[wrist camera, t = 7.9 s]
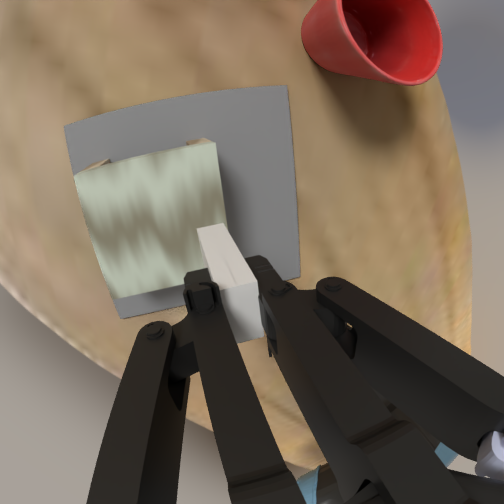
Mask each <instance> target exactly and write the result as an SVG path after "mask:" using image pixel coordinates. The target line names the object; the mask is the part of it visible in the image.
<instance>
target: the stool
mask: <svg viewBox="0 0 504 504" xmlns="http://www.w3.org/2000/svg"><path fill="white" fill-rule="evenodd" d="M186 145H187V146H183V147H178V148H173V149H168V150H163V151H158V152H154V153H149V154H145V155H141V156H137V157H132V158H128V159H124V160H120V161H117V162H113V163H110V159H106V160H102V161H99V162H95V163H92V164H91V165H89V166H88V167H86V168H84V169H83V170H82V171H80V172H79V173H77V174H76V175H74V180H75V184H76V188H77V192H78V196H79V200H80V203H81V207H82V211H83V214H84V218H85V221H86V225H87V228H88V231H89V234H90V238H91V241H92V244H93V247H94V250H95V253H96V256H97V259H98V262H99V265H100V268H101V270H102V273H103V276H104V279H105V281H106V284H107V287H108V289H109V292H110V294H111V297H112V299H113V300H114V299H119V298H123V297H128V296H132V295H137V294H141V293H146V292H150V291H155V290H159V289H164V288H168V287H172V286H177V285H181V284H184V277H185V275H186V273H187V272H190V271H195V270H199V269H203V268H205V267H204V262H203V258H202V253H201V248H200V243H199V238H198V233H197V228H202V227H206V226H211V225H216V224H220V223H224V225H225V227H226V229H227V230H228V226H227V219H226V213H225V206H224V199H223V192H222V185H221V178H220V171H219V164H218V157H217V150H216V143H215V142H212V141H210V140H208V139H206V138H201V139H195V140H189V141H186Z"/></svg>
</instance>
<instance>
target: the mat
mask: <svg viewBox="0 0 504 504" xmlns="http://www.w3.org/2000/svg"><path fill="white" fill-rule="evenodd" d="M64 131H65V136H66V142H67V147H68V152H69V157H70V162H71V166H72V171H73V175H76V174H77V173H79V172H80V171H82V170H83V169H84V168H86V167H88V166H89V165H91V164H92V163H95V162H99V161H102V160H106V159H110V163H113V162H117V161H120V160H124V159H128V158H132V157H137V156H141V155H145V154H149V153H154V152H158V151H163V150H168V149H173V148H178V147H183V146H187V145H186V141H189V140H195V139H201V138H206V139H208V140H210V141H212V142H215V143H216V150H217V157H218V164H219V171H220V178H221V185H222V192H223V199H224V206H225V213H226V219H227V226H228V232H229V234H230V235H231V237H232V239H233V241H234V242H235V244H236V246H237V247H238V249H239V251H240V252H241V254H242V256H243V258H247V257H252V256H256V255H261V256H263V257H265V258H267V259H268V261H269V262H270V264H271V265H272V266H273V268H274V269H275V270H276V272H277V273H278V274H279V276H280V277H281V278H282V280H283V281H285V280H289V279H292V278H296V277H300V257H299V235H298V216H297V199H296V183H295V169H294V156H293V144H292V132H291V121H290V110H289V100H288V91H287V85H280V86H263V87H250V88H239V89H229V90H221V91H213V92H205V93H198V94H192V95H186V96H180V97H174V98H169V99H164V100H159V101H154V102H149V103H144V104H140V105H136V106H131V107H127V108H123V109H119V110H115V111H112V112H108V113H104V114H101V115H97V116H94V117H90V118H87V119H84V120H81V121H77V122H74V123H71V124H68V125H65V126H64ZM184 289H185V285H184V284H181V285H177V286H172V287H168V288H164V289H159V290H155V291H150V292H146V293H141V294H137V295H132V296H128V297H123V298H119V299H114V300H113V302H114V304H115V307H116V309H117V312H118V314H119V316H120V319H122V318H127V317H132V316H137V315H141V314H146V313H151V312H155V311H160V310H164V309H169V308H173V307H178V306H182V305H186V304H185V301H184V297H183V291H184Z"/></svg>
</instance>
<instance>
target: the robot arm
mask: <svg viewBox="0 0 504 504" xmlns="http://www.w3.org/2000/svg"><path fill="white" fill-rule="evenodd" d="M197 233H198V238H199V243H200V248H201V253H202V258H203V262H204V267H205V268H203V269H199V270H195V271H190V272H187V273H186V275H185V277H184V285H185V289H184V291H183V297H184V301H185V304H186V308H187V311H188V314H187V316H186V317H185V318H184V319H183V320H182V321H180V322H179V323H177V324H175V325H173V326H171V325H170V324H169V323H167V322H165V321H156V322H151V323H149V324H147V325H145V326H144V327H143V328H141V329H140V331H139V332H138V334H137V337H136V340H135V343H134V345H133V348H132V351H131V354H130V356H129V359H128V362H127V365H126V368H125V371H124V374H123V377H122V379H121V383H120V385H119V388H118V392H117V395H116V398H115V401H114V404H113V407H112V410H111V413H110V417H109V420H108V423H107V427H106V430H105V433H104V437H103V440H102V444H101V448H100V451H99V455H98V459H97V462H96V467H95V470H94V474H93V478H92V482H91V487H90V490H89V495H88V499H87V504H176V501H177V489H178V479H179V470H180V459H181V451H182V441H183V433H184V424H185V417H186V409H187V401H188V393H189V386H190V376H191V375H193V374H194V373H196V372H198V371H199V372H200V376H201V381H202V385H203V390H204V394H205V398H206V403H207V407H208V411H209V415H210V419H211V423H212V427H213V431H214V435H215V439H216V443H217V446H218V450H219V453H220V457H221V461H222V464H223V468H224V471H225V475H226V478H227V482H228V492H229V496H230V500H231V503H232V504H504V377H503V376H502V375H500V374H499V373H497V372H495V371H494V370H493V369H491V368H489V367H488V366H486V365H485V364H483V363H482V362H480V361H478V360H477V359H475V358H474V357H472V356H470V355H469V354H467V353H466V352H464V351H462V350H461V349H459V348H458V347H456V346H454V345H453V344H451V343H450V342H448V341H446V340H445V339H443V338H441V337H440V336H438V335H437V334H435V333H433V332H432V331H430V330H428V329H427V328H425V327H424V326H422V325H420V324H419V323H417V322H415V321H414V320H412V319H410V318H409V317H407V316H405V315H404V314H402V313H400V312H399V311H397V310H395V309H394V308H392V307H390V306H389V305H387V304H385V303H384V302H382V301H380V300H379V299H377V298H375V297H374V296H372V295H370V294H369V293H367V292H365V291H364V290H362V289H360V288H358V287H357V286H355V285H353V284H352V283H350V282H348V281H346V280H345V279H342V278H339V277H327V278H323V279H321V280H320V281H318V282H317V284H316V289H313V290H297V288H296V287H295V286H294V285H293V284H292V283H290V282H287V281H283V280H282V278H281V277H280V276H279V274H278V273H277V272H276V270H275V269H274V268H273V266H272V265H271V264H270V262H269V261H268V259H267V258H265V257H263V256H261V255H256V256H252V257H247V258H243V256H242V254H241V252H240V251H239V249H238V247H237V246H236V244H235V242H234V241H233V239H232V237H231V235H230V234H229V232H228V230H227V229H226V227H225V225H224V223H220V224H216V225H211V226H206V227H202V228H197ZM347 323H349V324H350V325H351V326H352V328H351V327H350V326H348V325H347ZM263 328H264V330H265V332H266V334H267V343H268V351H269V357H272V354H273V356H274V358H275V360H276V362H277V364H278V366H279V368H280V370H281V372H282V374H283V376H284V378H285V380H286V382H287V384H288V386H289V388H290V390H291V392H292V394H293V396H294V398H295V400H296V402H297V404H298V406H299V408H300V410H301V412H302V414H303V416H304V418H305V420H306V422H307V423H308V425H309V427H310V429H311V431H312V433H313V435H314V437H315V439H316V441H317V443H318V445H319V447H320V449H321V451H322V452H323V454H324V456H325V458H326V460H327V462H328V463H326V464H324V465H322V466H321V465H319V466H317V468H316V469H314V470H312V471H310V472H308V473H306V474H304V475H302V476H300V477H299V478H298V479H297V481H296V480H295V478H294V476H293V475H292V472H291V471H290V470H289V469H288V468H287V466H286V465H285V462H284V460H283V458H282V455H281V453H280V451H279V448H278V446H277V444H276V441H275V439H274V436H273V434H272V432H271V429H270V427H269V424H268V422H267V420H266V417H265V415H264V412H263V410H262V407H261V405H260V402H259V400H258V397H257V395H256V392H255V390H254V387H253V385H252V382H251V380H250V377H249V374H248V372H247V369H246V367H245V364H244V361H243V359H242V356H241V353H240V351H239V348H238V345H237V344H238V343H241V342H245V341H249V340H253V339H256V338H260V337H264V331H263ZM458 454H459V455H461V456H464V457H465V458H467V459H470V460H473V461H476V462H477V464H476V466H475V473H476V474H477V475H478V476H476V475H471V474H466V473H462V472H458V471H454V470H450V469H447V467H448V466H449V465H450V463H451V462H452V461H453V460H454V459H455V458H456V457H457V456H458ZM484 476H488V477H490V478H486V477H484Z"/></svg>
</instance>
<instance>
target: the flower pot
mask: <svg viewBox="0 0 504 504" xmlns="http://www.w3.org/2000/svg"><path fill="white" fill-rule="evenodd" d="M301 36H302V41H303V44H304V47H305V49H306V51H307V52H308V54H309V55H310V57H311V58H312V59H313V60H314V61H315V62H316V63H317V64H318V65H320V66H321V67H323V68H324V69H326V70H328V71H331V72H334V73H339V74H345V75H351V76H356V77H362V78H367V79H373V80H377V81H382V82H387V83H392V84H398V85H405V86H414V85H419V84H422V83H424V82H426V81H428V80H429V79H430V78H432V77H433V76H434V74H435V73H436V72H437V70H438V68H439V66H440V62H441V58H442V51H443V43H442V36H441V30H440V26H439V23H438V20H437V17H436V15H435V13H434V11H433V9H432V7H431V5H430V4H429V2H428V0H318V1H317V2H316V3H315V4H314V6H313V7H312V8H311V10H310V11H309V13H308V14H307V15H306V17H305V18H304V20H303V23H302V28H301Z"/></svg>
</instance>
